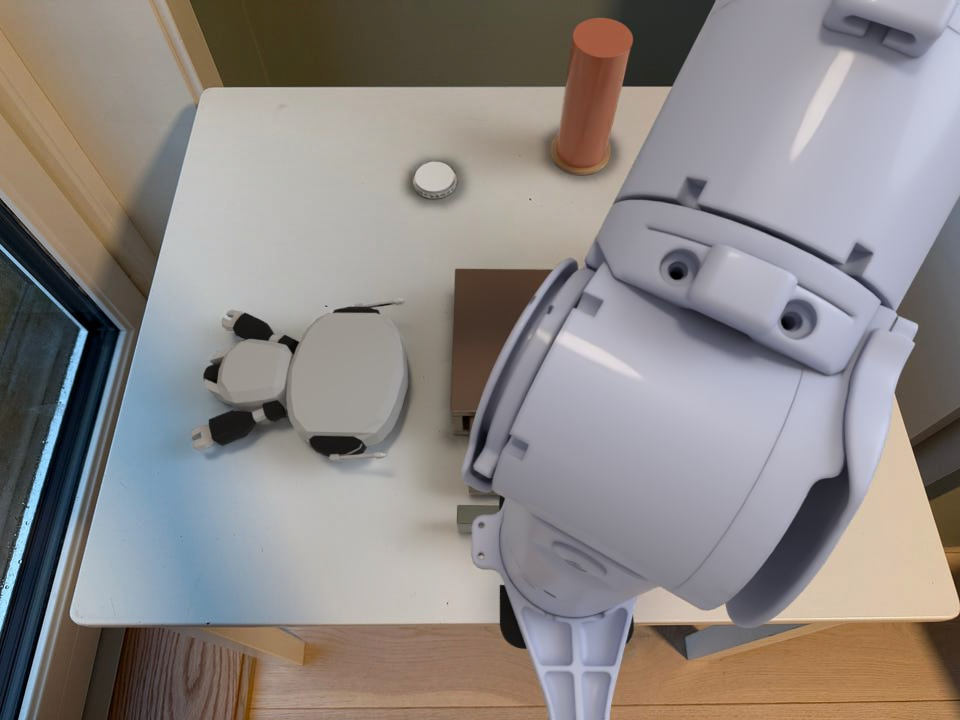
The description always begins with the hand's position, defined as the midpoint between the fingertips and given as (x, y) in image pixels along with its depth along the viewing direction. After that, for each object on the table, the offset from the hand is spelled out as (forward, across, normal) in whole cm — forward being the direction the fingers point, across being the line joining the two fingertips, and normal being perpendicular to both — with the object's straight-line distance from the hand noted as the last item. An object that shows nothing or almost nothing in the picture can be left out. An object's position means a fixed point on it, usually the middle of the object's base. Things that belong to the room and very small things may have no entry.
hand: (548, 572), depth 33 cm
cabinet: (+8, -16, 0) cm, 19 cm away
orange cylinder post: (+8, -39, +5) cm, 40 cm away
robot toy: (+9, -14, -16) cm, 23 cm away
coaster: (+8, -39, +5) cm, 40 cm away
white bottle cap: (+8, -35, -8) cm, 37 cm away
